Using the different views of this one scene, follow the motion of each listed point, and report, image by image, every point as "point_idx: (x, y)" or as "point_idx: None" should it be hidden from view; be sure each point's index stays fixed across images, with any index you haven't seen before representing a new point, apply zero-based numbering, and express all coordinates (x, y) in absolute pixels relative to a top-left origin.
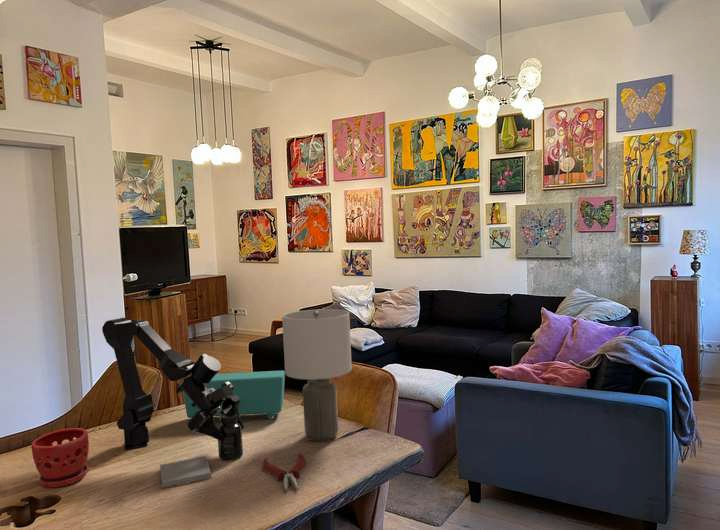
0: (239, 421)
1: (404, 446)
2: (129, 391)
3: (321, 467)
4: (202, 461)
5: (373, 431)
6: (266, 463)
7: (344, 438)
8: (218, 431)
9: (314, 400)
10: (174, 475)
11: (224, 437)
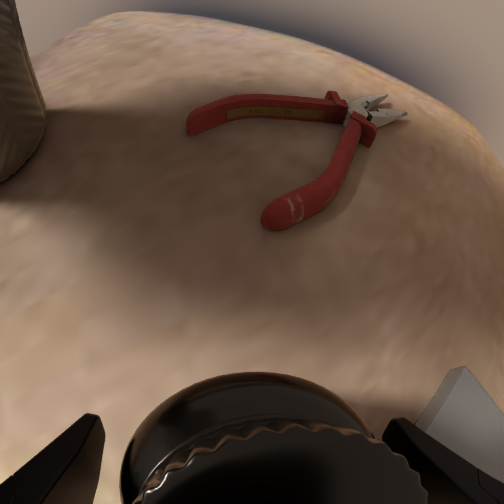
0: (70, 464)
1: (108, 19)
2: None
3: (242, 78)
4: None
5: None
6: (331, 180)
7: None
8: (458, 459)
9: (3, 2)
10: (502, 470)
11: (400, 423)
